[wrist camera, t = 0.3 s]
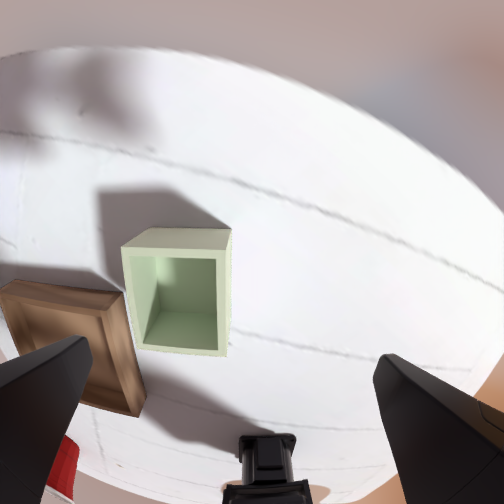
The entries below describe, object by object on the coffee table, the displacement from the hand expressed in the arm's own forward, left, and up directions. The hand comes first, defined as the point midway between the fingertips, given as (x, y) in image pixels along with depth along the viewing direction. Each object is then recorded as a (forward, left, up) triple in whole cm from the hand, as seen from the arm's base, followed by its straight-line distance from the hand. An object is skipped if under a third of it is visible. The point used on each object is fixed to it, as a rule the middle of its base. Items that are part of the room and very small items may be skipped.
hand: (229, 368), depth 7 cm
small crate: (-2, +4, -13) cm, 14 cm away
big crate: (-10, +17, -13) cm, 24 cm away
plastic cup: (-35, +30, -13) cm, 48 cm away
